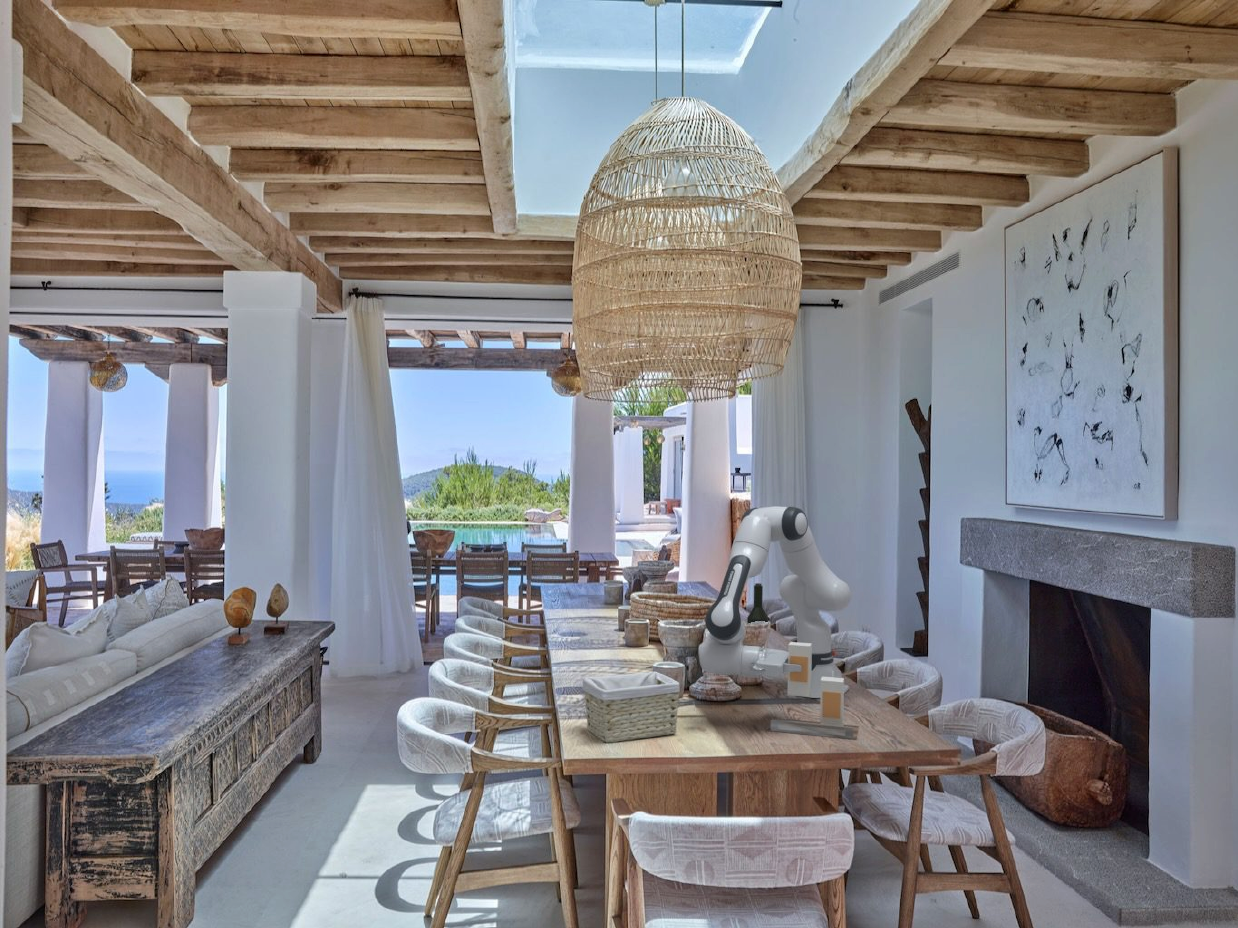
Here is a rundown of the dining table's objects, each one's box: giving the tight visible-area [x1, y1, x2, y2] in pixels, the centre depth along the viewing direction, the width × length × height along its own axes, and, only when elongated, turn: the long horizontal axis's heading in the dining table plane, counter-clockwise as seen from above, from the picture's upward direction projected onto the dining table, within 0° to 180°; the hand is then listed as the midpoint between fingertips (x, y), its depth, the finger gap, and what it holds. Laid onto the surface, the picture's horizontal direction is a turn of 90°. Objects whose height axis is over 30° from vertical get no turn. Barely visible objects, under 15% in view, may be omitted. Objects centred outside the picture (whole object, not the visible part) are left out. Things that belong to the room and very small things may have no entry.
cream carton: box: [787, 641, 812, 698], centre depth 246 cm, size 5×6×14 cm
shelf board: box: [766, 717, 860, 741], centre depth 244 cm, size 14×24×4 cm, turn 72°
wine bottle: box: [746, 583, 769, 649], centre depth 342 cm, size 8×8×30 cm
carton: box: [819, 677, 845, 726], centre depth 243 cm, size 5×6×14 cm
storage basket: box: [582, 671, 681, 743], centre depth 243 cm, size 24×16×15 cm
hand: (802, 665), depth 245 cm, fingers closed on cream carton, 5 cm apart
